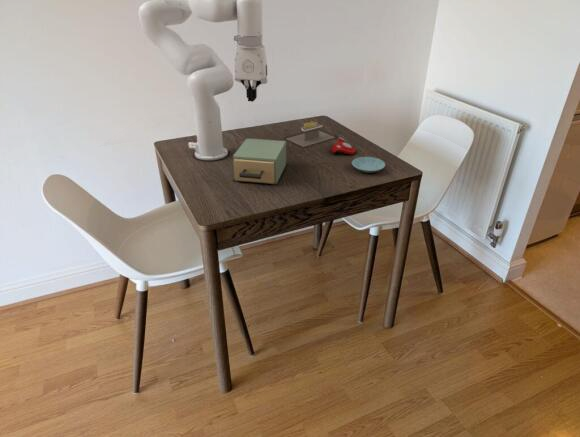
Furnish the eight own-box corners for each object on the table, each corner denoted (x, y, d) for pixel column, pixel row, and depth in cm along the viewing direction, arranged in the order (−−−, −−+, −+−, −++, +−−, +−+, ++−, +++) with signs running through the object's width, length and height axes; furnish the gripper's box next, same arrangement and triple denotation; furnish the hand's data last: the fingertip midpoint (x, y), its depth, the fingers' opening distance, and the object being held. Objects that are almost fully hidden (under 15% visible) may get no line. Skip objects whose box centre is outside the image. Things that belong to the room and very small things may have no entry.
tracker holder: (361, 150, 165) (342, 149, 160) (356, 159, 168) (338, 159, 162) (343, 134, 173) (325, 133, 167) (339, 143, 175) (320, 143, 169)
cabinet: (276, 184, 143) (275, 159, 138) (234, 180, 145) (232, 156, 141) (286, 164, 157) (286, 141, 152) (247, 161, 159) (246, 138, 154)
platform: (285, 138, 179) (285, 123, 176) (317, 129, 189) (317, 115, 185) (303, 147, 171) (303, 131, 168) (335, 137, 181) (336, 122, 177)
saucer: (384, 177, 148) (385, 171, 146) (350, 174, 149) (351, 168, 148) (384, 163, 158) (384, 157, 156) (351, 161, 159) (352, 155, 158)
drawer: (270, 190, 138) (269, 169, 134) (230, 186, 140) (229, 166, 136) (283, 164, 155) (283, 145, 151) (247, 161, 157) (246, 143, 153)
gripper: (222, 41, 129) (226, 101, 139) (270, 44, 126) (270, 105, 136) (231, 37, 135) (234, 95, 145) (276, 40, 132) (276, 99, 142)
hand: (251, 100), depth 140 cm, fingers closed
